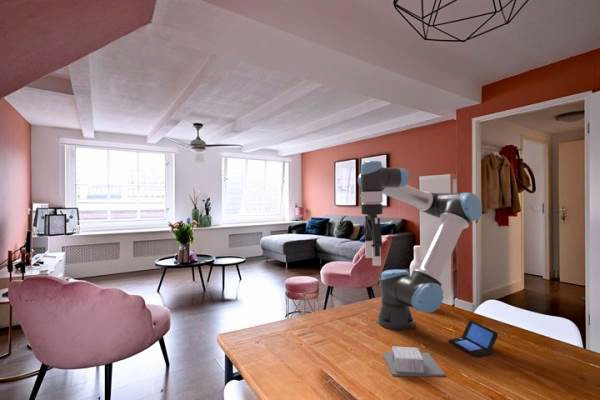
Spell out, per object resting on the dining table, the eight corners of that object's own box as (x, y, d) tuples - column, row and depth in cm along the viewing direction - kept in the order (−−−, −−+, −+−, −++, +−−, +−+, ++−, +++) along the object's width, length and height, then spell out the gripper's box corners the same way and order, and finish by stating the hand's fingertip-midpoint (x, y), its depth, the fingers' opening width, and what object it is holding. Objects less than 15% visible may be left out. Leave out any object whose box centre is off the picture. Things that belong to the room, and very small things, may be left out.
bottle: (430, 305, 154) (429, 246, 154) (420, 308, 150) (419, 247, 150) (416, 301, 161) (415, 244, 161) (406, 303, 157) (406, 245, 157)
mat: (382, 354, 107) (382, 352, 107) (428, 354, 106) (428, 352, 106) (392, 375, 94) (392, 373, 94) (444, 376, 93) (444, 374, 93)
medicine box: (395, 371, 95) (424, 374, 94) (395, 357, 95) (424, 359, 94) (391, 358, 103) (418, 360, 101) (391, 345, 103) (418, 347, 101)
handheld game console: (447, 342, 116) (446, 322, 116) (470, 338, 119) (469, 319, 119) (474, 358, 104) (474, 337, 103) (499, 353, 107) (499, 332, 107)
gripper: (356, 203, 124) (357, 255, 124) (368, 204, 99) (369, 269, 99) (374, 202, 124) (375, 254, 124) (391, 204, 99) (392, 269, 99)
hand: (372, 261), depth 112 cm, fingers open, 13 cm apart
